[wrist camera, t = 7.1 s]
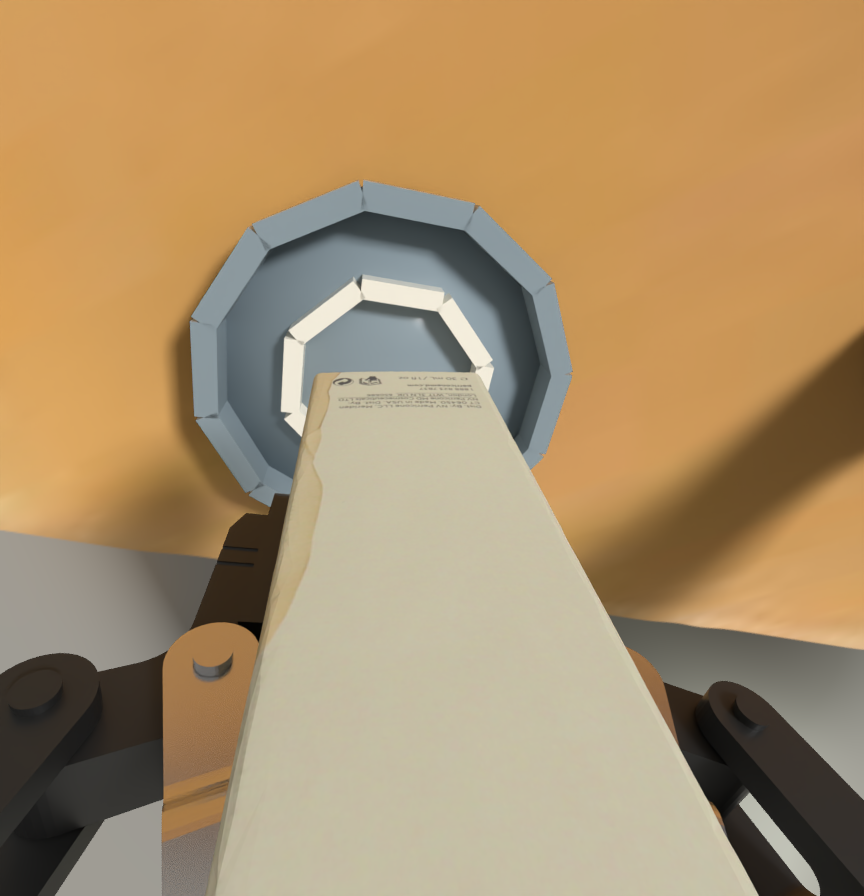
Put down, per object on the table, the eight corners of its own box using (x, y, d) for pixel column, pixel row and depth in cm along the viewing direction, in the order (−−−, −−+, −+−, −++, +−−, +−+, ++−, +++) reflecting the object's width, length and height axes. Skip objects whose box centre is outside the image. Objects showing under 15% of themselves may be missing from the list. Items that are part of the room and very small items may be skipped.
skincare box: (312, 367, 12) (-42, 1583, 2) (487, 368, 13) (1039, 1305, 2) (327, 559, 15) (231, 1417, 5) (467, 554, 16) (659, 1317, 5)
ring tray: (594, 227, 27) (620, 233, 24) (502, 519, 36) (513, 547, 33) (203, 145, 23) (181, 142, 20) (213, 496, 32) (199, 527, 29)
